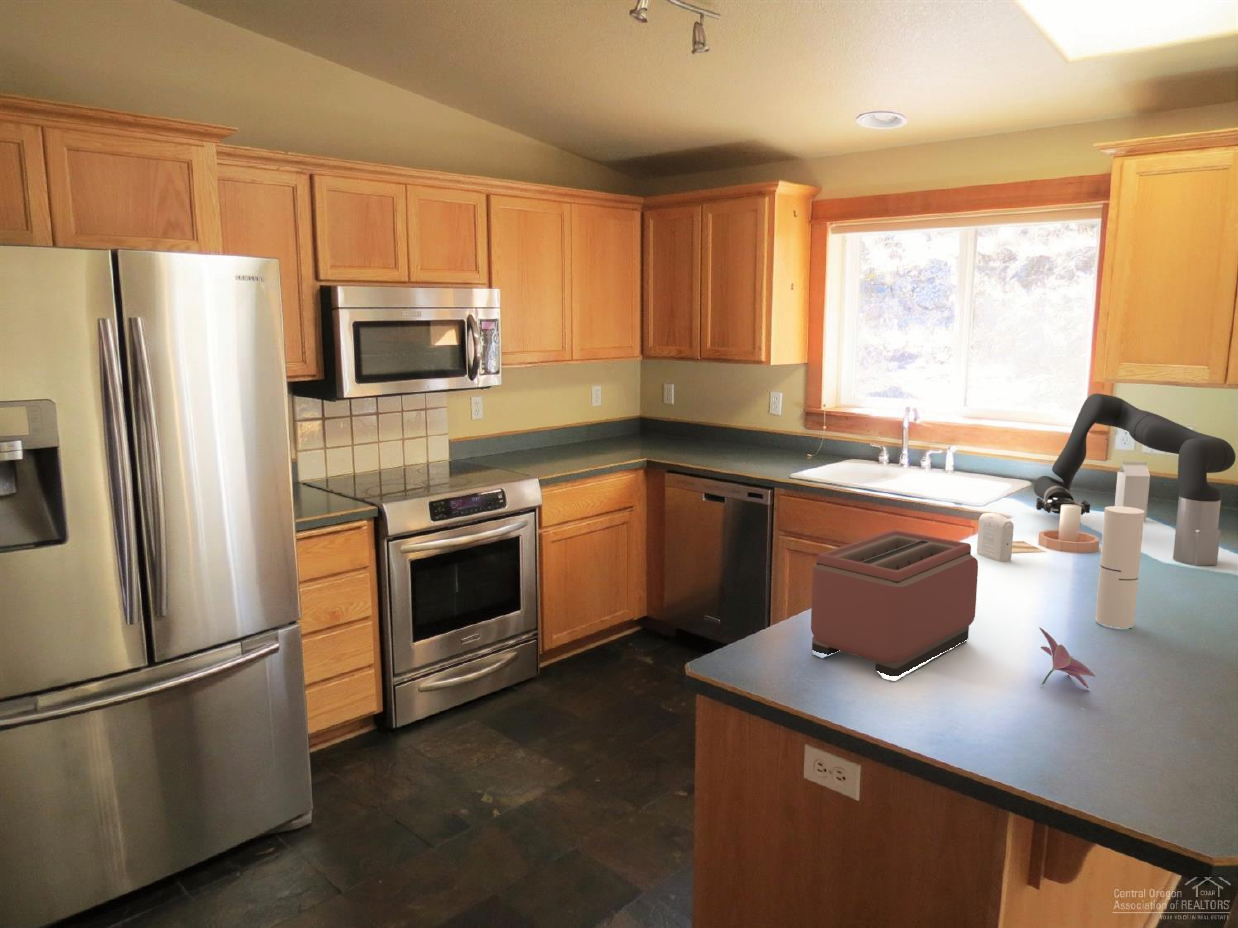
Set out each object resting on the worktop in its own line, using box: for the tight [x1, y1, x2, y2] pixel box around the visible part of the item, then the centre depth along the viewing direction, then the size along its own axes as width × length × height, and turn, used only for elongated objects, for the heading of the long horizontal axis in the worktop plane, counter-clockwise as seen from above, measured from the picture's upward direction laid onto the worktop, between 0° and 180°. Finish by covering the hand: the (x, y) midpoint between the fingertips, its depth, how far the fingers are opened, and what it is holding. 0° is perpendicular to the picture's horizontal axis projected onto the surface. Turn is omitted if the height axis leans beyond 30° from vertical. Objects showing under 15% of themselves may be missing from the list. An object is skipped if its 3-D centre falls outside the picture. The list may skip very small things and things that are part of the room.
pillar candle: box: [1058, 504, 1082, 542], centre depth 242 cm, size 5×5×11 cm
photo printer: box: [976, 512, 1014, 563], centre depth 231 cm, size 10×4×12 cm, turn 17°
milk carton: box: [1114, 461, 1151, 522], centre depth 274 cm, size 7×7×19 cm
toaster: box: [810, 529, 979, 676], centre depth 168 cm, size 19×36×21 cm, turn 133°
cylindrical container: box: [1094, 505, 1145, 628], centre depth 178 cm, size 7×7×25 cm
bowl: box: [1037, 529, 1100, 554], centre depth 242 cm, size 15×15×3 cm
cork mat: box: [1012, 540, 1047, 554], centre depth 241 cm, size 12×12×1 cm
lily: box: [1038, 626, 1096, 689], centre depth 150 cm, size 12×12×10 cm
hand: (1065, 510), depth 248 cm, fingers open, 8 cm apart
